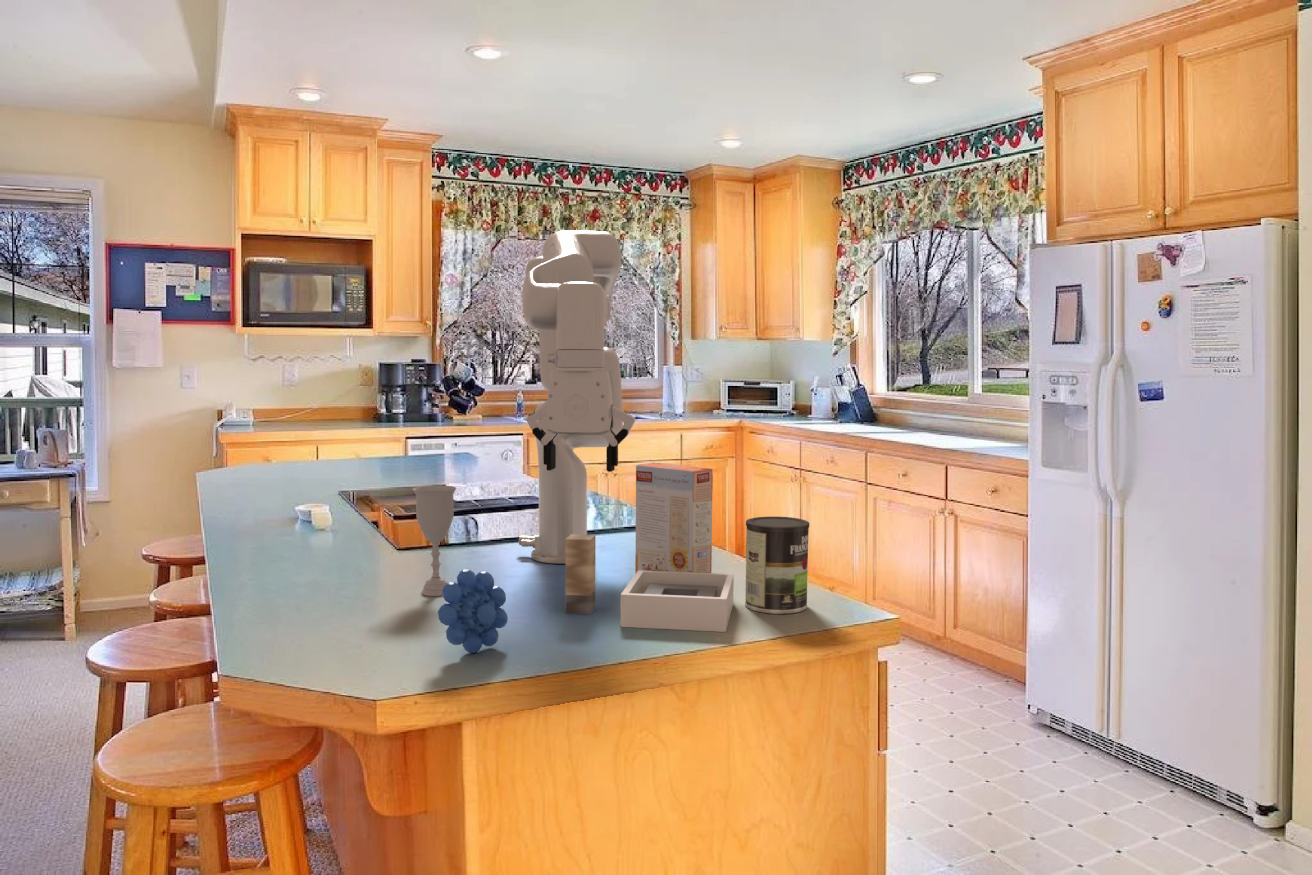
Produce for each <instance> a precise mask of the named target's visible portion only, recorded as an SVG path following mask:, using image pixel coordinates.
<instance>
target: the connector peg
mask: <svg viewBox="0 0 1312 875" xmlns="http://www.w3.org/2000/svg"><path fill="white" fill-rule="evenodd" d="M565 555H566V564H565V614H572V613H573V614H576V615H578V614H579V615H591V614H592V613H593V611H595V609H596V534H587V535H583V534H571V535H570V536H568V537H567V538H566V539H565Z"/></svg>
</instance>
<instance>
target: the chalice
mask: <svg viewBox="0 0 1312 875" xmlns="http://www.w3.org/2000/svg"><path fill="white" fill-rule="evenodd" d="M456 490H457V486H453V485H423V486H417V487H414V488H412V491H413V493H414V495H415V507H416V508H415V510H416V511H415V513H416V519H417V522H418V525H419V528H420V530H421V532H422V533H423V536H424V538H425V539H426V541H427V542H430V543H431V544H432V551H431V553H430V555H431V558H432V562H431V563H430V566H431V568H432V575H431V577H429V578H427V579H426V580H425V582H424V585H423V586H422V588H423V589H422V590H421V592H420V593H421V595H424V596H428V597H437V596H438V597H439V596H443V592H442V590H443V588H444V586H445V585H446V584H447V583H448V581H447V579H446V578H444V577H441V576H442V575H440V571H439V570H440V566H441V565H442V563H441V562H440V560H439V558H440V555H441V551H440V549H439V544H440V543H441V542H443V541H444V540H445V539H446V536H447V534H448V532H449V530H450V528H451V525H452V522H453V520H454V495H455V492H456Z"/></svg>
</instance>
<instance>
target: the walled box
mask: <svg viewBox="0 0 1312 875" xmlns="http://www.w3.org/2000/svg"><path fill="white" fill-rule="evenodd" d="M734 577H735V575H734V573H715V572H714V573H713V572H711V573H692V572H668V571H643V570H638V571H637V572H636V574H635V573H634V575H633V577H632V578H631V579H630V581H629V582H628V584H627V585H626V587H625V588H624V590H622V591H621V593H620V627H621V628H635V629H636V628H638V629H657V630H658V629H659V630H660V629H662V630H674V631H675V630H678V631H697V632H698V631H700V632H716V633H717V632H718V633H720V632H721V633H726V632H727V629H728V626H729V622H730V618H731V613H732V610H733V606H734V590H735V589H734V585H735V584H734V581H735V579H734Z"/></svg>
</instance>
